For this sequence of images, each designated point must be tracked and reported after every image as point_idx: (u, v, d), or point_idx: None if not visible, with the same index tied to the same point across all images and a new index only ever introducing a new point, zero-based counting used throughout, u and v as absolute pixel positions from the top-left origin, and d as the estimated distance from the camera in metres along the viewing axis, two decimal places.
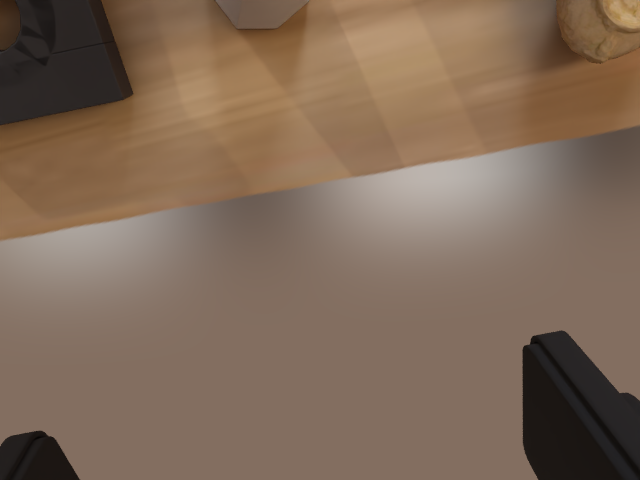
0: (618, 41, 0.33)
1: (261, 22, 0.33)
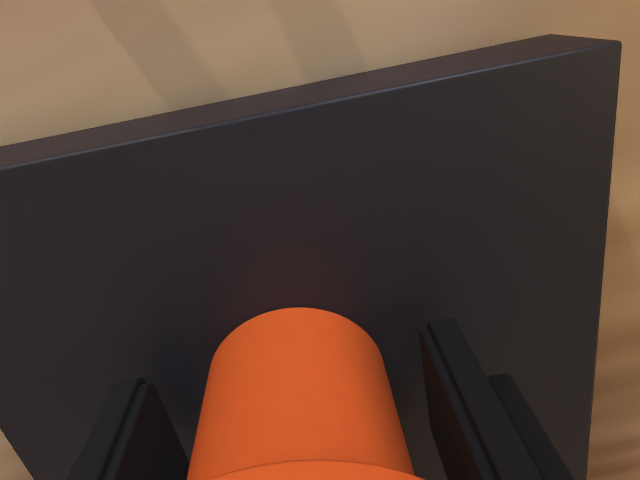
0: None
1: None
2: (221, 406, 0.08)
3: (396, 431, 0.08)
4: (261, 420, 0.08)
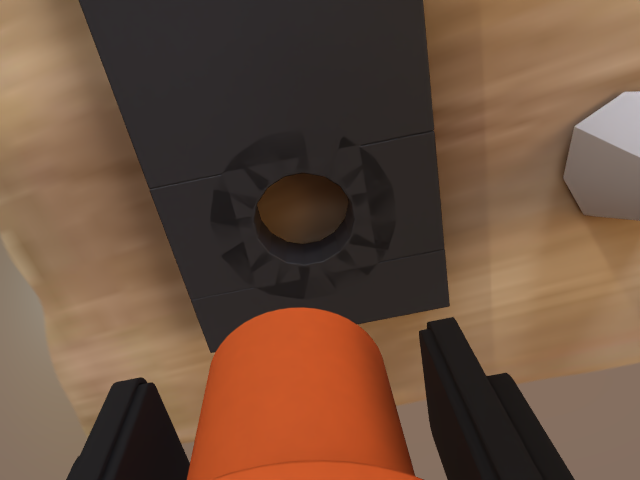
0: None
1: None
2: (222, 406, 0.08)
3: (396, 431, 0.08)
4: (261, 421, 0.08)
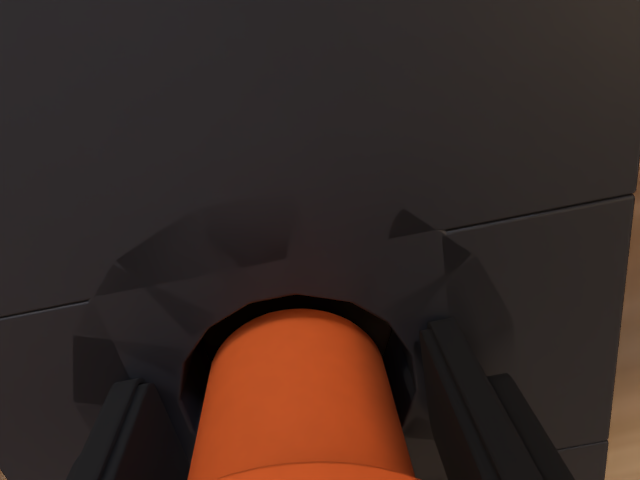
0: None
1: None
2: (222, 407, 0.08)
3: (397, 432, 0.08)
4: (262, 422, 0.08)
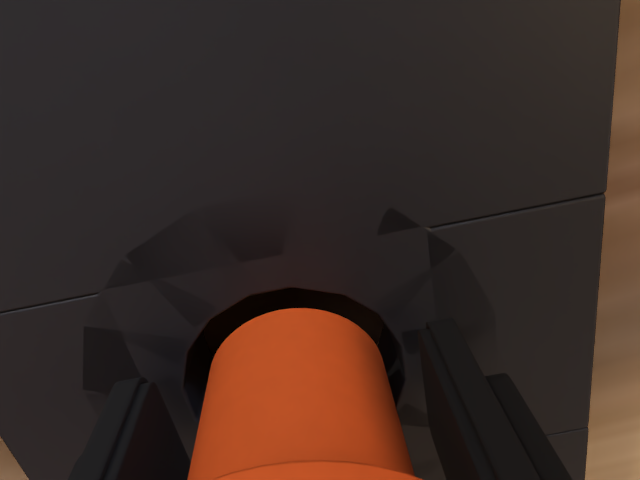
0: None
1: None
2: (222, 407, 0.08)
3: (396, 432, 0.08)
4: (262, 421, 0.08)
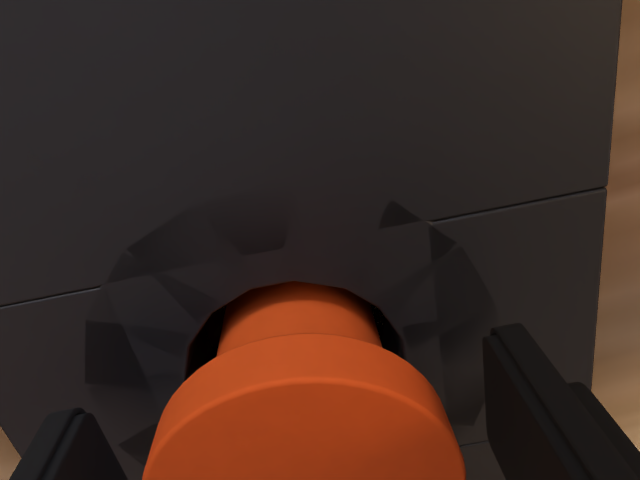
0: None
1: None
2: (239, 321, 0.11)
3: (375, 341, 0.11)
4: (271, 325, 0.10)
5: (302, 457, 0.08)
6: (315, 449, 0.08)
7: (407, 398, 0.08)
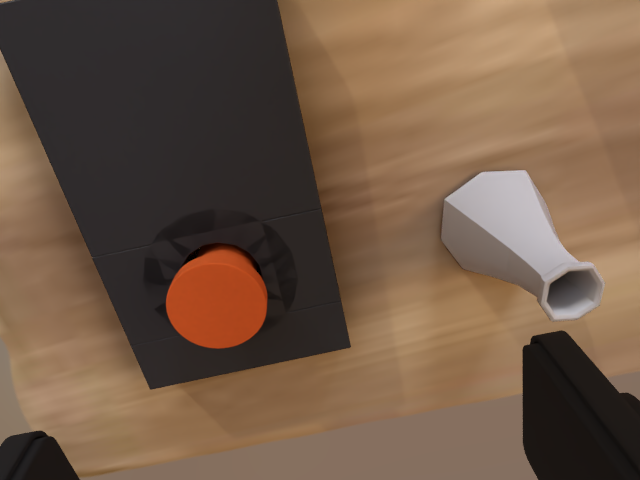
0: None
1: None
2: None
3: None
4: None
5: (213, 289, 0.27)
6: (217, 286, 0.27)
7: (242, 270, 0.27)
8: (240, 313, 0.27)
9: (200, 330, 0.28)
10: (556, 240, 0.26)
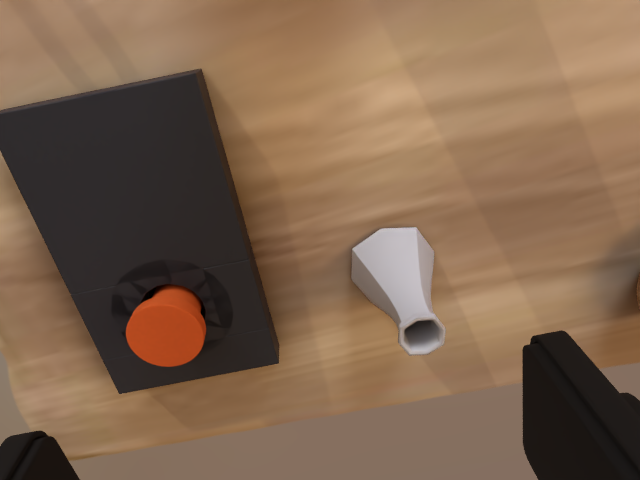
0: None
1: None
2: (154, 295, 0.38)
3: (193, 300, 0.38)
4: (161, 295, 0.37)
5: (162, 323, 0.35)
6: (164, 321, 0.35)
7: (183, 309, 0.35)
8: (183, 341, 0.36)
9: (153, 353, 0.36)
10: (421, 292, 0.34)
